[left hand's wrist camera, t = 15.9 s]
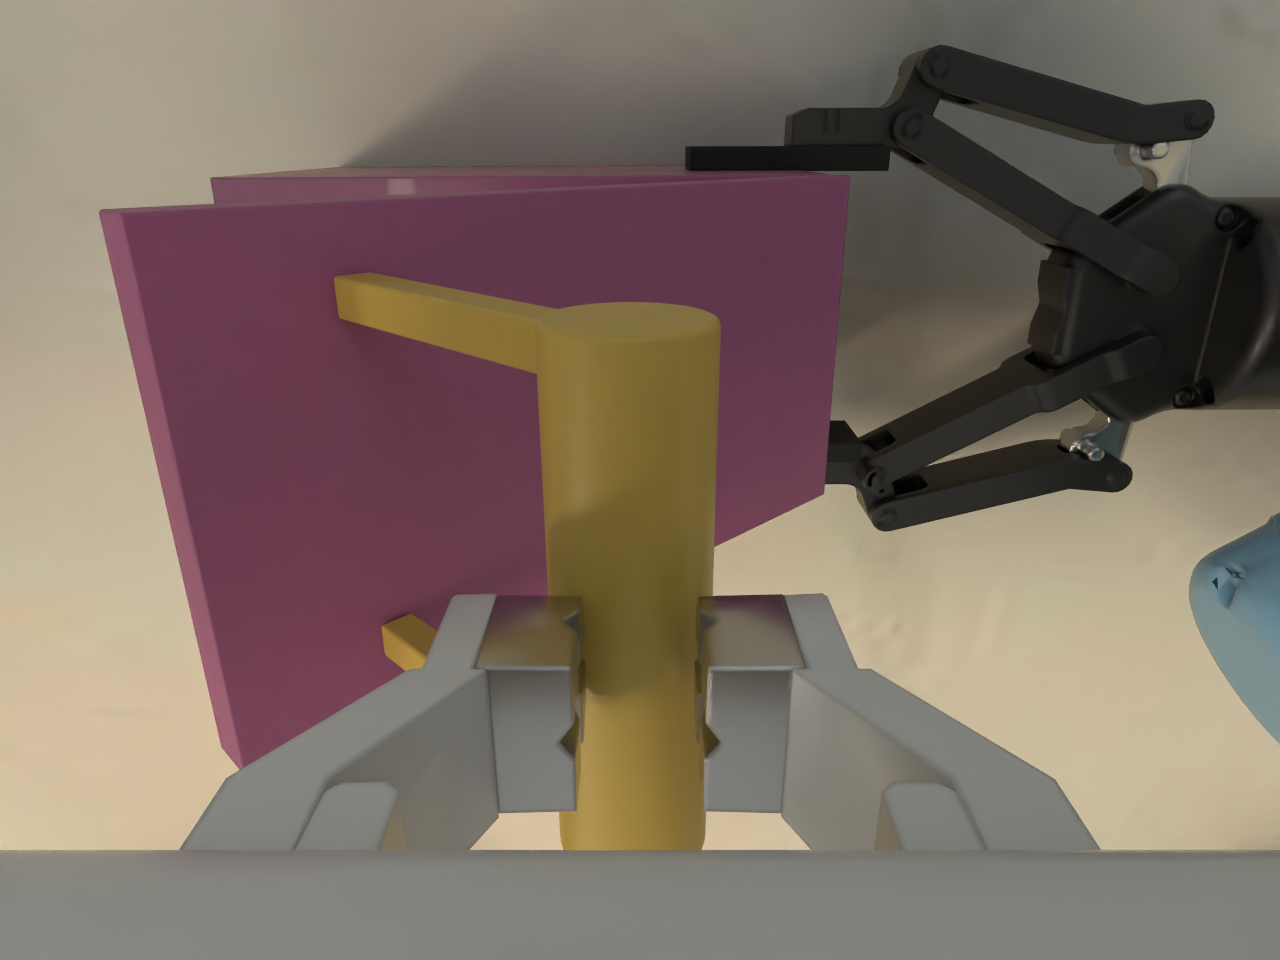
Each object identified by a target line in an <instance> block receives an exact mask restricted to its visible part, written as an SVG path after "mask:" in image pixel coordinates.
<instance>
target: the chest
mask: <svg viewBox="0 0 1280 960" xmlns="http://www.w3.org/2000/svg"><path fill="white" fill-rule="evenodd" d="M804 175H828V174H822V173H816V172H809V171H803V170H760V171H689V170H687V169H685V165H682V166H486V167H335V168H323V169H311V170H298V171H286V172H274V173H262V174H249V175H237V176H225V177H212V178H211V185H212V191H213V197H214V202H215V204H224V203H244V202H265V201H286V200H307V199H327V198H348V197H369V196H389V195H410V194H431V193H452V192H472V191H493V190H514V189H534V188H555V187H576V186H597V185H617V184H638V183H659V182H680V181H700V180H721V179H742V178H762V177H783V176H804Z"/></svg>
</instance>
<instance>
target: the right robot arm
mask: <svg viewBox="0 0 1280 960" xmlns="http://www.w3.org/2000/svg"><path fill="white" fill-rule="evenodd" d="M898 76H899V78H898V80H897V83H896V85H895V87H894V90H893V92H892V94H891V96H890V98H889V99H888V100H887V101H886V102H885V103H884V104H883V105H881V106H880V107H878V108H807V109H802V110H799V111H797V112H794V113H792V114H790V115H787V116H786V122H785V139H784V146H686V154H685V169H687V170H689V171H760V170H803V171H888V169H889V159H890V151H891V152H893V153H895V154H896V155H898V156H900V157H901V158H903V159H905V160H906V161H908V162H910V163H911V164H913V165H914V166H916V167H918V168H919V169H921V170H923V171H924V172H926V173H928V174H929V175H931V176H933V177H934V178H936V179H937V180H939V181H941V182H942V183H944V184H946V185H947V186H949V187H951V188H952V189H954V190H955V191H957V192H959V193H960V194H962V195H964V196H965V197H967V198H969V199H970V200H972V201H974V202H975V203H977V204H978V205H980V206H982V207H983V208H985V209H987V210H988V211H990V212H992V213H993V214H995V215H996V216H998V217H1000V218H1001V219H1003V220H1005V221H1006V222H1008V223H1010V224H1011V225H1013V226H1015V227H1016V228H1018V229H1019V230H1021V231H1022V233H1023V234H1024V235H1026V236H1027V237H1029V238H1031V239H1032V240H1034V241H1036V242H1037V243H1039V244H1040V245H1042V246H1044V247H1045V248H1047V249H1049V250H1050V251H1052V252H1051V254H1050V255H1049V258H1048V260H1041V264H1040V270H1039V276H1038V289H1039V299H1040V302H1039V305H1038V307H1037V310H1036V312H1035V314H1034V317H1033V319H1032V321H1031V324H1030V330H1029V336H1028V342H1027V343H1028V344H1030V345H1032V347H1030V348H1028V349H1026V350H1024V351H1022V352H1020V353H1018V354H1016V355H1014V356H1012V357H1010V358H1008V359H1006V360H1005V361H1003V362H1002V364H1001V366H1000V367H999V368H998V369H997V370H995V371H993V372H991V373H989V374H987V375H985V376H983V377H981V378H979V379H977V380H975V381H973V382H971V383H968V384H966V385H964V386H962V387H960V388H958V389H956V390H954V391H952V392H950V393H948V394H946V395H944V396H942V397H940V398H938V399H936V400H934V401H932V402H930V403H928V404H926V405H924V406H922V407H920V408H918V409H916V410H914V411H912V412H910V413H908V414H906V415H904V416H902V417H900V418H897V419H895V420H893V421H891V422H889V423H887V424H885V425H883V426H881V427H879V428H877V429H875V430H873V431H871V432H869V433H867V434H865V435H863V436H861V437H859V438H858V437H857V436H856V435H855V433H854V432H853V431H852V430H851V428H850V427H849V426H848V424H847V423H846V422H845V421H830V426H829V438H828V450H827V463H826V475H825V484H849V485H852V486H855V488H856V491H857V499H858V501H859V503H860V504H861V506H862V508H863V509H864V511H865V512H866V514H867V515H868V517H869V519H870V520H871V522H872V523H873V525H874V526H875V527H876V528H877V529H878V530H881V531H892V530H897V529H901V528H905V527H909V526H913V525H918V524H922V523H926V522H930V521H935V520H939V519H943V518H947V517H952V516H956V515H960V514H964V513H968V512H973V511H977V510H981V509H985V508H990V507H994V506H998V505H1002V504H1007V503H1011V502H1015V501H1019V500H1024V499H1028V498H1032V497H1036V496H1040V495H1045V494H1049V493H1053V492H1057V491H1062V490H1066V489H1078V490H1090V491H1102V492H1119V491H1121V490H1123V489H1125V488H1126V487H1127V486H1128V485H1129V484H1130V482H1131V480H1132V476H1133V472H1132V470H1131V468H1130V467H1129V466H1128V465H1127V464H1125V463H1124V462H1122V461H1121V460H1122V457H1123V453H1124V450H1125V447H1126V444H1127V441H1128V438H1129V435H1130V432H1131V428H1132V425H1133V422H1137V421H1140V420H1143V419H1145V418H1147V417H1149V416H1151V415H1153V414H1156V413H1158V412H1161V411H1165V410H1170V409H1188V410H1219V409H1280V197H1256V198H1210V197H1207V196H1205V195H1203V194H1201V193H1200V192H1198V191H1197V190H1196V189H1194V188H1192V187H1190V186H1188V185H1187V180H1188V172H1189V165H1190V157H1191V150H1192V142H1193V140H1194V139H1197V138H1200V137H1202V136H1203V135H1204V134H1206V133H1207V132H1208V131H1209V129H1210V128H1211V126H1212V124H1213V121H1214V118H1215V116H1214V109H1213V107H1212V105H1211V104H1210V103H1209V102H1207V101H1206V100H1187V101H1174V102H1161V103H1150V104H1140V103H1137V102H1134V101H1130V100H1127V99H1124V98H1120V97H1117V96H1114V95H1110V94H1107V93H1104V92H1100V91H1097V90H1094V89H1090V88H1087V87H1084V86H1080V85H1077V84H1074V83H1070V82H1067V81H1064V80H1060V79H1057V78H1053V77H1050V76H1047V75H1043V74H1040V73H1037V72H1033V71H1030V70H1027V69H1023V68H1020V67H1017V66H1013V65H1010V64H1007V63H1003V62H1000V61H997V60H993V59H990V58H987V57H983V56H980V55H977V54H973V53H970V52H967V51H963V50H960V49H957V48H953V47H950V46H946V45H938V46H935V47H932V48H928V49H925V50H922V51H919V52H916V53H914V54H911V55H908V56H907V57H906V58H905V59H904V60H903V61H902V63H901V65H900V67H899V73H898ZM939 100H943V101H946V102H950V103H953V104H956V105H960V106H963V107H967V108H970V109H974V110H977V111H980V112H984V113H987V114H991V115H994V116H997V117H1001V118H1004V119H1008V120H1011V121H1015V122H1018V123H1021V124H1025V125H1028V126H1032V127H1035V128H1039V129H1042V130H1045V131H1049V132H1052V133H1056V134H1059V135H1063V136H1066V137H1069V138H1073V139H1076V140H1080V141H1084V142H1089V143H1097V144H1116V146H1115V148H1114V154H1115V155H1116V157H1117V160H1118V162H1119V163H1120V164H1121V165H1122V166H1124V167H1128V168H1133V169H1136V170H1137V171H1139V173H1140V174H1141V175H1142V178H1143V186H1142V187H1140V188H1138V189H1137V190H1135V191H1134V192H1132V193H1131V194H1129V195H1128V196H1126V197H1125V198H1123V199H1122V200H1120V201H1119V202H1117V203H1116V204H1114V205H1113V206H1111V207H1110V208H1108V209H1107V210H1105V211H1104V212H1102V213H1101V214H1099V215H1098V216H1097V215H1096V214H1094V213H1092V212H1090V211H1088V210H1086V209H1084V208H1082V207H1079V206H1077V205H1074V204H1073V203H1071V202H1069V201H1067V200H1066V199H1064V198H1063V197H1061V196H1059V195H1058V194H1056V193H1055V192H1053V191H1051V190H1050V189H1048V188H1047V187H1045V186H1043V185H1042V184H1040V183H1039V182H1037V181H1035V180H1034V179H1032V178H1031V177H1029V176H1027V175H1026V174H1024V173H1023V172H1021V171H1019V170H1018V169H1016V168H1015V167H1013V166H1011V165H1010V164H1008V163H1007V162H1005V161H1004V160H1002V159H1000V158H999V157H997V156H996V155H994V154H992V153H991V152H989V151H988V150H986V149H984V148H983V147H981V146H980V145H978V144H976V143H975V142H973V141H972V140H970V139H968V138H967V137H965V136H964V135H962V134H960V133H959V132H957V131H956V130H954V129H952V128H951V127H949V126H948V125H946V124H944V123H943V122H941V121H940V120H938V119H936V118H935V117H933V116H932V115H933V113H934V111H935V109H936V107H937V104H938V102H939ZM1081 398H1082V399H1083V400H1084V401H1085V402H1087V403H1088V404H1089V405H1090V406H1092V407H1093V408H1094V409H1095V410H1097V412H1096V414H1095V417H1094V418H1093V419H1092V420H1091V421H1090V422H1089V423H1088V424H1086V425H1083V426H1079V427H1073V428H1071V429H1068V428H1067V429H1064V430H1063V431H1062V432H1061V433H1060V439H1045V440H1036V441H1030V442H1025V443H1021V444H1017V445H1013V446H1009V447H1004V448H1000V449H996V450H992V451H988V452H984V453H980V454H975V455H971V456H967V457H963V458H959V459H955V460H951V461H947V462H942V463H938V464H934V465H930V466H926V465H929V464H931V463H933V462H935V461H937V460H939V459H941V458H943V457H945V456H947V455H949V454H951V453H954V452H956V451H958V450H960V449H962V448H964V447H966V446H968V445H970V444H972V443H974V442H976V441H979V440H981V439H983V438H985V437H987V436H989V435H991V434H993V433H995V432H997V431H999V430H1001V429H1004V428H1006V427H1008V426H1010V425H1012V424H1014V423H1016V422H1018V421H1020V420H1022V419H1024V418H1026V417H1029V416H1031V415H1033V414H1035V413H1039V412H1051V411H1055V410H1058V409H1060V408H1062V407H1064V406H1066V405H1068V404H1070V403H1072V402H1075V401H1077V400H1079V399H1081ZM924 466H926V467H924ZM1189 599H1190V604H1191V608H1192V612H1193V616H1194V619H1195V621H1196V624H1197V627H1198V629H1199V631H1200V633H1201V636H1202V638H1203V640H1204V642H1205V644H1206V646H1207V647H1208V649H1209V651H1210V653H1211V655H1212V656H1213V658H1214V660H1215V662H1216V663H1217V665H1218V667H1219V668H1220V670H1221V671H1222V673H1223V674H1224V676H1225V677H1226V679H1227V680H1228V682H1229V683H1230V685H1231V686H1232V688H1233V689H1234V690H1235V692H1236V693H1237V695H1238V696H1239V697H1240V699H1241V700H1242V701H1243V703H1244V704H1245V705H1246V706H1247V708H1248V709H1249V710H1250V711H1251V713H1252V714H1253V715H1254V716H1255V718H1256V719H1257V720H1258V721H1259V722H1260V723H1261V725H1262V726H1263V727H1264V728H1265V729H1266V730H1267V731H1268V732H1269V733H1270V734H1271V736H1272V737H1273V738H1274V739H1275V740H1276V741H1277V742H1278V743H1279V744H1280V513H1278V514H1276V515H1273V516H1271V517H1270V518H1269V520H1268V522H1267V523H1266V524H1265V525H1263V526H1261V527H1259V528H1257V529H1255V530H1253V531H1251V532H1249V533H1248V534H1246V535H1244V536H1242V537H1240V538H1238V539H1236V540H1234V541H1232V542H1230V543H1228V544H1226V545H1224V546H1222V547H1220V548H1219V549H1217V550H1215V551H1213V552H1211V553H1209V554H1208V555H1206V556H1205V557H1204V558H1203V559H1201V561H1200V562H1199V563H1198V564H1197V565H1196V567H1195V568H1194V570H1193V573H1192V576H1191V581H1190V585H1189Z"/></svg>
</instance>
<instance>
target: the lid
mask: <svg viewBox="0 0 1280 960" xmlns="http://www.w3.org/2000/svg"><path fill="white" fill-rule="evenodd" d="M849 181H850V176H848V175H804V176H783V177H762V178H742V179H721V180H700V181H680V182H659V183H638V184H617V185H597V186H576V187H555V188H534V189H514V190H493V191H472V192H452V193H431V194H410V195H389V196H369V197H348V198H327V199H307V200H286V201H265V202H244V203H224V204H203V205H182V206H161V207H141V208H120V209H102V210H100V212H99V215H100V219H101V224H102V228H103V232H104V237H105V241H106V245H107V250H108V254H109V258H110V263H111V267H112V272H113V276H114V280H115V285H116V289H117V293H118V298H119V302H120V306H121V311H122V315H123V320H124V324H125V328H126V333H127V337H128V341H129V346H130V350H131V354H132V359H133V363H134V367H135V372H136V376H137V381H138V385H139V389H140V394H141V398H142V402H143V407H144V411H145V415H146V420H147V424H148V428H149V433H150V437H151V442H152V446H153V450H154V455H155V459H156V463H157V468H158V472H159V476H160V481H161V485H162V489H163V494H164V498H165V503H166V507H167V511H168V516H169V520H170V524H171V529H172V533H173V537H174V542H175V546H176V551H177V555H178V559H179V564H180V568H181V572H182V577H183V581H184V585H185V590H186V594H187V598H188V603H189V607H190V612H191V616H192V620H193V625H194V629H195V633H196V638H197V642H198V646H199V651H200V655H201V659H202V664H203V668H204V673H205V677H206V681H207V686H208V690H209V694H210V699H211V703H212V707H213V712H214V716H215V720H216V725H217V729H218V734H219V738H220V742H221V747H222V748H223V750H224V751H225V752H226V753H227V755H228V756H229V757H230V758H231V759H232V761H233V762H234V763H235V764H236V766H237V767H238V768H239V769H240V770H241V769H243V768H244V767H246V766H248V765H249V764H251V763H253V762H254V761H256V760H258V759H259V758H261V757H263V756H264V755H266V754H268V753H269V752H271V751H273V750H274V749H276V748H278V747H279V746H281V745H283V744H284V743H286V742H288V741H289V740H291V739H293V738H294V737H296V736H298V735H299V734H301V733H303V732H305V731H306V730H308V729H310V728H311V727H313V726H315V725H316V724H318V723H320V722H321V721H323V720H325V719H326V718H328V717H330V716H331V715H333V714H335V713H336V712H338V711H340V710H341V709H343V708H345V707H346V706H348V705H350V704H351V703H353V702H355V701H356V700H358V699H360V698H361V697H363V696H365V695H366V694H368V693H370V692H371V691H373V690H375V689H377V688H378V687H380V686H382V685H383V684H385V683H387V682H388V681H390V680H392V679H393V678H395V677H397V676H398V675H400V674H402V673H403V672H405V671H407V670H408V669H422V667H423V665H424V662H425V660H426V658H427V655H428V653H429V650H430V648H431V646H432V643H433V641H434V638H435V636H436V634H437V631H438V629H439V627H440V624H441V622H442V619H443V617H444V615H445V612H446V610H447V608H448V605H449V603H450V600H451V598H452V597H453V596H455V595H460V594H497V595H498V596H499V595H553V596H583V607H584V627H585V631H584V641H583V651H582V659H583V660H584V661H585V662H586V708H585V728H584V741H583V742H582V743H581V744H580V750H581V772H580V782H579V792H578V801H577V811H559V820H560V837H561V843H562V846H563V849H564V850H701V849H702V846H703V844H704V839H705V825H706V811H704V810H703V800H702V791H701V782H700V772H699V750H700V744H699V743H698V742H697V741H696V728H695V713H694V662H695V661H696V660H697V659H698V651H697V641H696V631H695V627H696V606H697V598H698V597H699V596H713V565H714V547H715V546H717V545H719V544H721V543H724V542H726V541H728V540H730V539H732V538H734V537H736V536H738V535H740V534H742V533H744V532H746V531H748V530H750V529H753V528H755V527H757V526H759V525H761V524H763V523H765V522H767V521H769V520H771V519H773V518H775V517H777V516H779V515H782V514H784V513H786V512H788V511H790V510H792V509H794V508H796V507H798V506H800V505H802V504H804V503H806V502H808V501H811V500H813V499H815V498H817V497H819V496H821V495H823V494H824V487H825V475H826V463H827V450H828V438H829V426H830V414H831V402H832V389H833V377H834V365H835V353H836V340H837V328H838V316H839V304H840V291H841V279H842V267H843V255H844V243H845V230H846V218H847V206H848V194H849Z"/></svg>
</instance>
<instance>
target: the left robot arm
mask: <svg viewBox="0 0 1280 960" xmlns="http://www.w3.org/2000/svg"><path fill="white" fill-rule="evenodd" d="M584 631H585V627H584V607H583V596H553V595H499V596H498V595H497V594H460V595H455V596H453V597H452V598H451V600H450V603H449V605H448V608H447V610H446V612H445V615H444V617H443V619H442V622H441V624H440V627H439V629H438V631H437V634H436V636H435V638H434V641H433V643H432V646H431V648H430V650H429V653H428V655H427V658H426V660H425V662H424V665H423V667H422V669H408V670H407V671H405V672H403V673H402V674H400V675H398V676H397V677H395V678H393V679H392V680H390V681H388V682H387V683H385V684H383V685H382V686H380V687H378V688H377V689H375V690H373V691H371V692H370V693H368V694H366V695H365V696H363V697H361V698H360V699H358V700H356V701H355V702H353V703H351V704H350V705H348V706H346V707H345V708H343V709H341V710H340V711H338V712H336V713H335V714H333V715H331V716H330V717H328V718H326V719H325V720H323V721H321V722H320V723H318V724H316V725H315V726H313V727H311V728H310V729H308V730H306V731H305V732H303V733H301V734H299V735H298V736H296V737H294V738H293V739H291V740H289V741H288V742H286V743H284V744H283V745H281V746H279V747H278V748H276V749H274V750H273V751H271V752H269V753H268V754H266V755H264V756H263V757H261V758H259V759H258V760H256V761H254V762H253V763H251V764H249V765H248V766H246V767H244V768H243V769H241V770H239V771H238V772H236V773H234V774H233V775H231V776H229V777H228V778H226V779H225V781H224V782H223V784H222V786H221V787H220V789H219V790H218V792H217V793H216V795H215V796H214V798H213V799H212V801H211V802H210V804H209V805H208V807H207V808H206V810H205V811H204V813H203V814H202V816H201V817H200V819H199V820H198V822H197V824H196V825H195V827H194V828H193V830H192V831H191V833H190V834H189V836H188V837H187V839H186V840H185V842H184V843H183V845H182V846H181V848H180V849H179V850H0V960H1280V850H1101V849H1100V848H1099V846H1098V845H1097V843H1096V842H1095V840H1094V839H1093V837H1092V835H1091V834H1090V832H1089V831H1088V829H1087V828H1086V826H1085V825H1084V823H1083V822H1082V820H1081V819H1080V817H1079V815H1078V814H1077V812H1076V811H1075V809H1074V808H1073V806H1072V805H1071V803H1070V802H1069V800H1068V799H1067V797H1066V796H1065V794H1064V792H1063V791H1062V789H1061V788H1060V786H1059V785H1058V783H1057V782H1056V780H1055V779H1053V778H1052V777H1050V776H1048V775H1047V774H1045V773H1043V772H1042V771H1040V770H1038V769H1037V768H1035V767H1033V766H1032V765H1030V764H1028V763H1027V762H1025V761H1023V760H1022V759H1020V758H1018V757H1017V756H1015V755H1013V754H1012V753H1010V752H1008V751H1007V750H1005V749H1003V748H1002V747H1000V746H998V745H997V744H995V743H993V742H992V741H990V740H988V739H987V738H985V737H983V736H982V735H980V734H978V733H977V732H975V731H973V730H972V729H970V728H968V727H967V726H965V725H963V724H962V723H960V722H958V721H957V720H955V719H953V718H952V717H950V716H948V715H947V714H945V713H943V712H942V711H940V710H938V709H937V708H935V707H933V706H932V705H930V704H928V703H927V702H925V701H923V700H922V699H920V698H918V697H917V696H915V695H913V694H912V693H910V692H908V691H907V690H905V689H903V688H902V687H900V686H898V685H897V684H895V683H893V682H892V681H890V680H888V679H887V678H885V677H883V676H882V675H880V674H878V673H877V672H875V671H873V670H872V669H858V667H857V665H856V662H855V660H854V658H853V655H852V653H851V651H850V648H849V646H848V644H847V641H846V639H845V637H844V634H843V632H842V630H841V627H840V625H839V622H838V620H837V618H836V615H835V613H834V611H833V608H832V606H831V604H830V601H829V599H828V597H827V596H826V595H824V594H822V593H820V594H798V595H782V594H779V595H737V596H699V597H698V598H697V606H696V627H695V631H696V641H697V651H698V659H697V660H696V661H695V662H694V713H695V728H696V741H697V742H698V743H699V744H700V750H699V772H700V782H701V791H702V800H703V810H704V811H720V812H757V813H782V815H781V817H782V818H783V819H784V820H785V821H786V822H787V823H788V824H789V826H790V827H791V828H792V829H793V830H794V831H795V832H796V833H797V834H798V836H799V837H800V838H801V839H802V840H803V841H804V842H805V843H806V844H807V845H808V847H809V848H810V849H811V850H469V849H470V848H471V847H472V846H473V845H474V844H475V843H476V842H477V841H478V839H479V838H480V837H481V836H482V835H483V834H484V833H485V832H486V831H487V830H488V828H489V827H490V826H491V825H492V824H493V823H494V822H495V821H496V820H497V819H498V813H522V812H558V811H577V801H578V792H579V782H580V772H581V750H580V744H581V743H582V742H583V741H584V728H585V708H586V662H585V661H584V660H583V659H582V651H583V641H584Z"/></svg>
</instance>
